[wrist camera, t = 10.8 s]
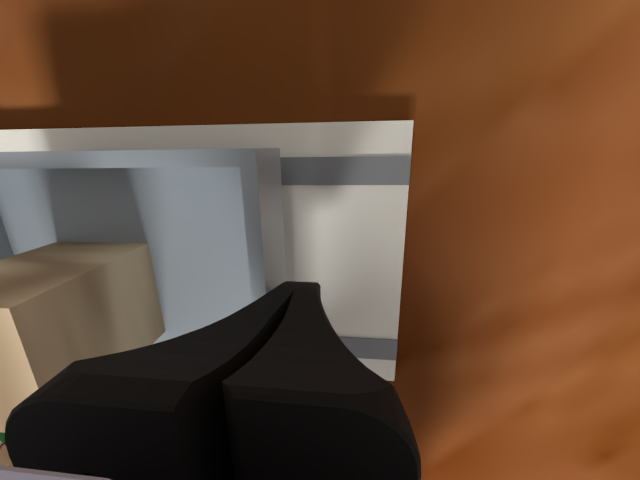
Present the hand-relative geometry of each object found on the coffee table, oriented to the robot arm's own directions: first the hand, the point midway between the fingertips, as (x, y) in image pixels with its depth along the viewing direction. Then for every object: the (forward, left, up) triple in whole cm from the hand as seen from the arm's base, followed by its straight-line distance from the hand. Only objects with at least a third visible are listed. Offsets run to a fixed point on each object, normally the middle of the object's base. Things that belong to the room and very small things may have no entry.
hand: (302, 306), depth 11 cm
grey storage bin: (0, +7, -4) cm, 8 cm away
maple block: (0, +8, -1) cm, 8 cm away
